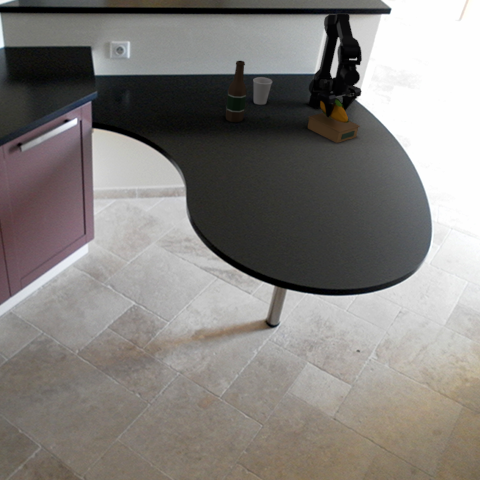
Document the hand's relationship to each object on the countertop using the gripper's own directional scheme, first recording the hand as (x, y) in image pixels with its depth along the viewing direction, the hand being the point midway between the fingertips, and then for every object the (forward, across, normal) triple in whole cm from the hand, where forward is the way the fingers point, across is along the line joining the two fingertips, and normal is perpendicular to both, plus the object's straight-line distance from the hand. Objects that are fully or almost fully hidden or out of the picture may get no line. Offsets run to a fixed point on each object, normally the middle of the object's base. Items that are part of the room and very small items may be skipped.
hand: (335, 115), depth 234 cm
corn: (+2, 0, 0) cm, 2 cm away
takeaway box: (+8, 0, 0) cm, 8 cm away
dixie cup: (+8, +4, -39) cm, 40 cm away
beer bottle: (+8, +26, -30) cm, 40 cm away
